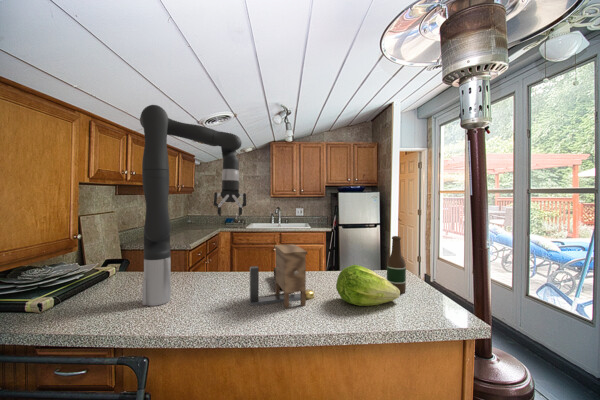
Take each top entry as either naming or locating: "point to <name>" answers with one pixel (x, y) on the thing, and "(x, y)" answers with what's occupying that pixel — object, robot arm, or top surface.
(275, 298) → the grey l-shaped bracket
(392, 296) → the lettuce
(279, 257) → the walnut cabinet
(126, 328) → the top surface
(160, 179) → the robot arm
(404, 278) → the beer bottle
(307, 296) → the brass puck
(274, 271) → the hand tool
